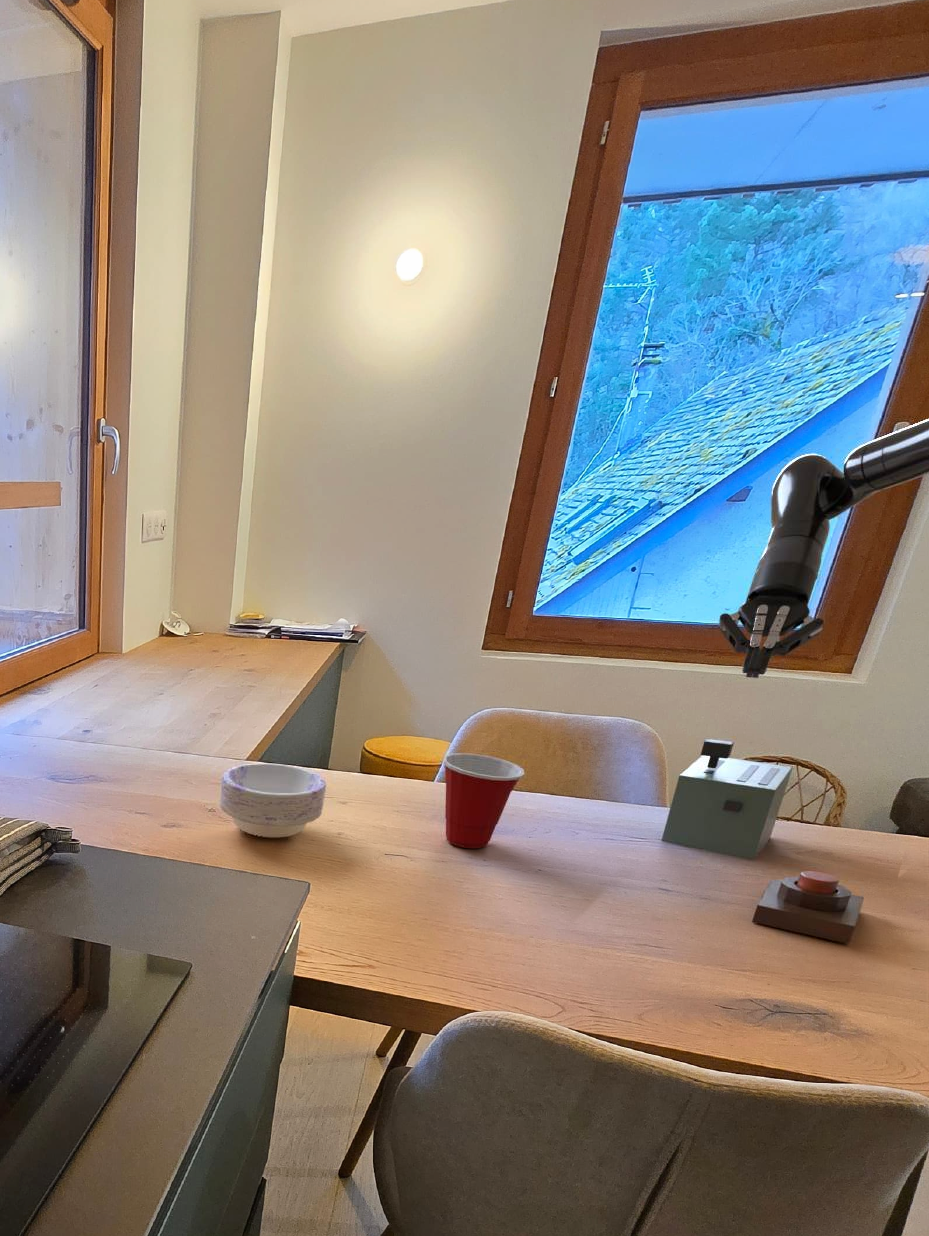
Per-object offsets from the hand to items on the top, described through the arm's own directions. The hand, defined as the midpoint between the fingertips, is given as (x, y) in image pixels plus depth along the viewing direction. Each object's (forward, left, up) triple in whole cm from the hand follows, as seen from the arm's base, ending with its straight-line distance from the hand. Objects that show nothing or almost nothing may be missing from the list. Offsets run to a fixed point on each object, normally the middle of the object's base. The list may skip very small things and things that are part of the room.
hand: (752, 674), depth 134 cm
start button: (+21, +30, -20) cm, 42 cm away
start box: (+21, +30, -23) cm, 44 cm away
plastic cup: (+41, -5, -23) cm, 47 cm away
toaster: (+7, +7, -23) cm, 25 cm away
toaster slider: (+10, +5, -12) cm, 16 cm away
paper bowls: (+66, -19, -23) cm, 72 cm away
